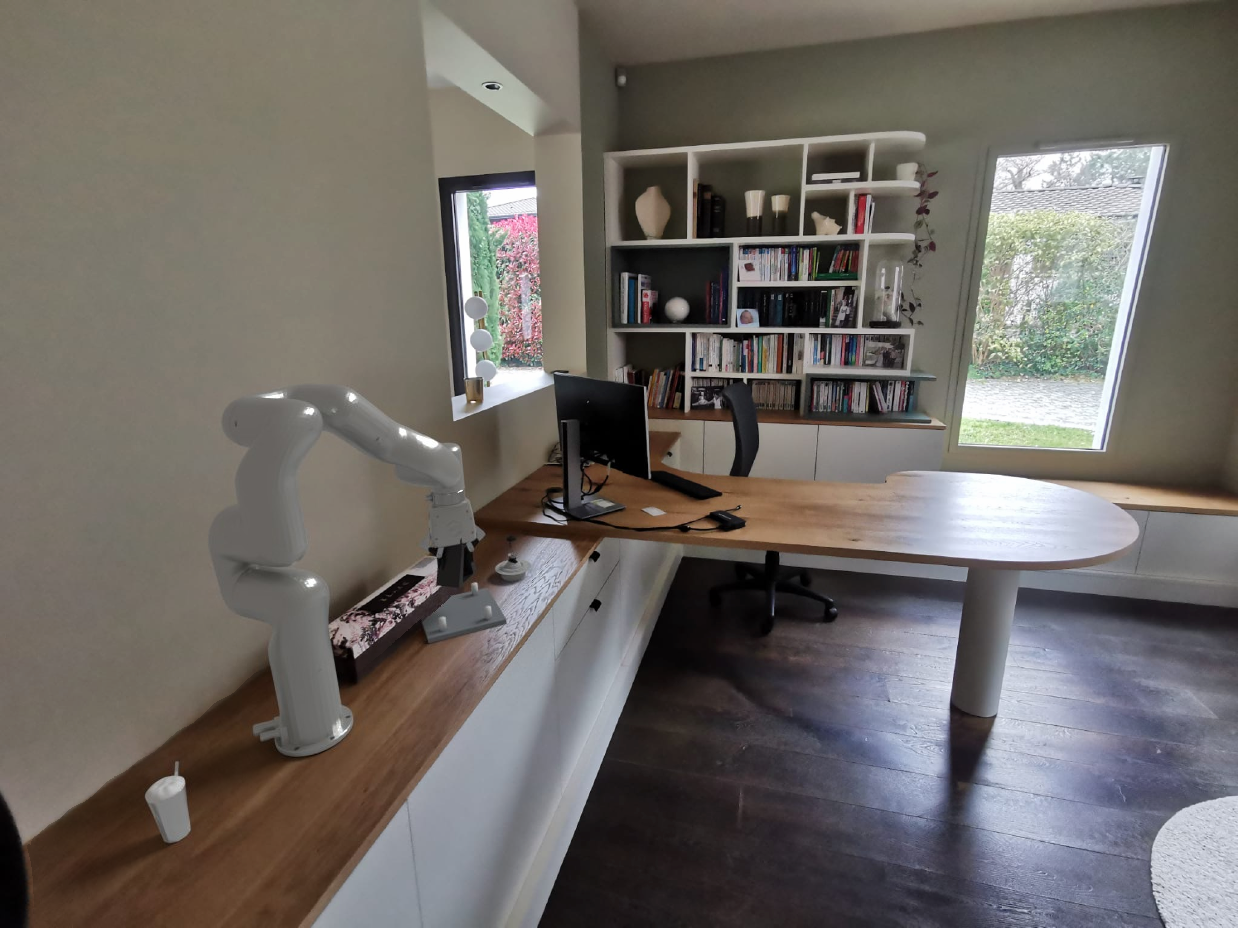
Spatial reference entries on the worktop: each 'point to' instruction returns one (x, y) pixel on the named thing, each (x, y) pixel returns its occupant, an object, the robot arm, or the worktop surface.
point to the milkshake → (170, 807)
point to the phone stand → (455, 567)
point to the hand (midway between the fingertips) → (456, 567)
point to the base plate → (464, 615)
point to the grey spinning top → (513, 566)
